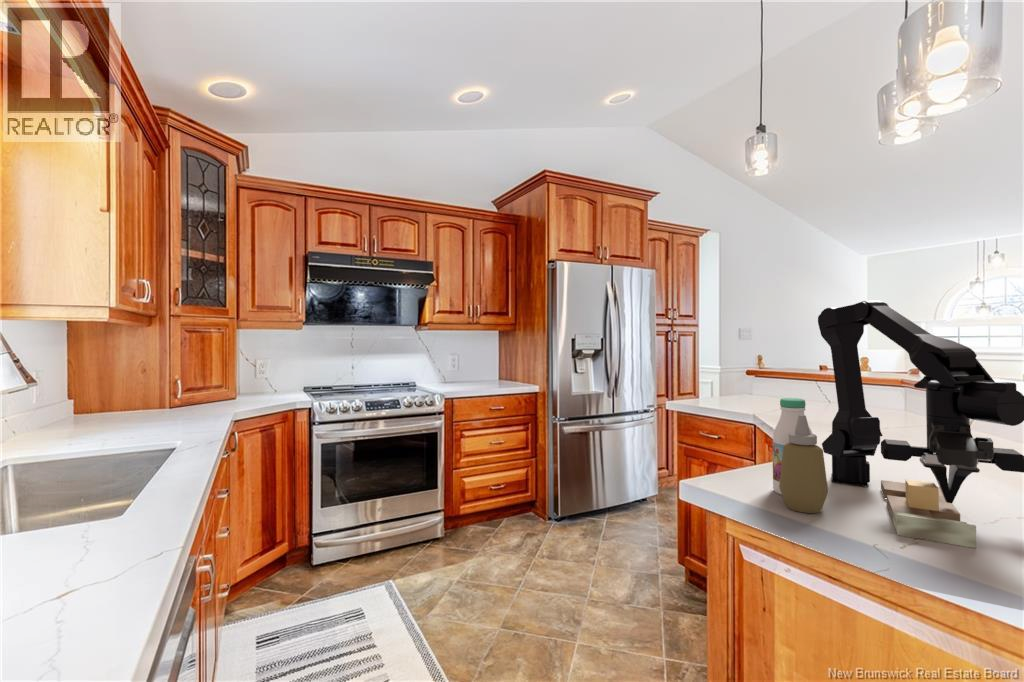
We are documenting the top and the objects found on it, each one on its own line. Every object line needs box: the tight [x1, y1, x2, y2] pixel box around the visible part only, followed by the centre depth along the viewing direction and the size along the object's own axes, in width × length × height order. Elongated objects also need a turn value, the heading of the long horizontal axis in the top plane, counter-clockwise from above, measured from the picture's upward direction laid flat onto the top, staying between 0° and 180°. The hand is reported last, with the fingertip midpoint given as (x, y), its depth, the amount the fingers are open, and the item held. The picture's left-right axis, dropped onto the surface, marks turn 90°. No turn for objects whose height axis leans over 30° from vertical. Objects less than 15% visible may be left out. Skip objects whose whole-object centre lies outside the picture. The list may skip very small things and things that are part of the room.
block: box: [904, 479, 939, 511], centre depth 86 cm, size 4×4×4 cm
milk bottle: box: [772, 397, 813, 496], centre depth 99 cm, size 8×8×20 cm
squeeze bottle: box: [779, 414, 829, 514], centre depth 91 cm, size 8×8×18 cm
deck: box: [880, 479, 977, 549], centre depth 87 cm, size 10×27×3 cm, turn 146°
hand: (948, 502), depth 84 cm, fingers closed
